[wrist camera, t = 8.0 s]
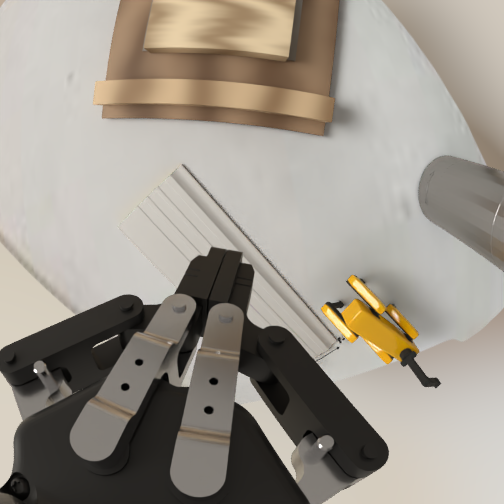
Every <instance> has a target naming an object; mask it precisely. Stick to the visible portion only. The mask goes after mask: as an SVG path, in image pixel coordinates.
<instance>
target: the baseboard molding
mask: <svg viewBox="0 0 504 504" xmlns="http://www.w3.org/2000/svg"><path fill="white" fill-rule="evenodd" d="M118 228H119V229H120V230H121V232H122V233H123V234H124V235H125V236H126V237H127V238H128V239H129V240H130V241H131V242H132V243H133V244H134V245H135V246H136V248H137V249H138V250H139V251H140V252H141V253H142V254H143V255H144V256H145V257H146V258H147V259H148V260H149V261H150V262H151V263H152V264H153V265H154V266H155V267H156V268H157V269H158V270H159V271H160V272H161V273H162V274H163V275H164V276H165V277H166V278H167V279H168V280H169V281H170V282H171V283H172V284H173V285H174V286H175V287H176V288H178V286H179V284H180V282H181V280H182V278H183V276H184V275H185V272H186V270H187V269H188V266H189V264H190V262H191V260H193V259H194V258H195V257H197V256H198V255H202V256H207V255H208V253H209V250H210V248H211V247H217V248H222V249H227V250H234V251H239V252H243V258H242V263H246V264H251V265H252V266H253V269H254V271H255V274H254V280H253V286H252V293H251V298H250V303H249V307H248V312H247V317H248V319H249V320H250V321H251V322H252V323H253V324H255V325H256V326H258V327H260V328H263V329H264V328H265V327H268V326H281V327H284V328H286V329H287V330H289V331H290V332H291V333H292V334H293V335H294V337H295V338H296V339H297V340H298V341H299V343H300V344H301V345H302V346H303V347H304V349H305V350H306V351H307V352H308V353H309V354H310V356H311V357H312V358H316V357H317V356H318V355H320V354H322V353H323V352H326V351H327V350H329V348H330V346H331V345H332V344H333V343H335V342H336V341H337V340H336V339H335V337H334V336H333V335H332V334H331V333H330V332H329V331H328V329H327V328H326V327H325V326H324V325H323V324H322V323H321V321H320V320H319V319H318V318H317V317H316V316H315V315H314V313H313V312H312V311H311V310H310V309H309V308H308V307H307V305H306V304H305V303H304V302H303V301H302V300H301V299H300V297H299V296H298V295H297V294H296V293H295V292H294V291H293V289H292V288H291V287H290V286H289V285H288V284H287V283H286V281H285V280H284V279H283V278H282V277H281V276H280V275H279V273H278V272H277V271H276V270H275V269H274V268H273V267H272V265H271V264H270V263H269V262H268V261H267V260H266V259H265V258H264V256H263V255H262V254H261V253H260V252H259V251H258V250H257V248H256V247H255V246H254V245H253V244H252V243H251V242H250V241H249V239H248V238H247V237H246V236H245V235H244V234H243V233H242V231H241V230H240V229H239V228H238V227H237V226H236V225H235V224H234V222H233V221H232V220H231V219H230V218H229V217H228V216H227V214H226V213H225V212H224V211H223V210H222V209H221V208H220V207H219V205H218V204H217V203H216V202H215V201H214V200H213V199H212V198H211V196H210V195H209V194H208V193H207V192H206V191H205V190H204V189H203V187H202V186H201V185H200V184H199V183H198V182H197V181H196V179H195V178H194V177H193V176H192V175H191V174H190V173H189V172H188V170H187V169H186V168H185V167H184V166H183V165H181V166H180V167H178V168H177V169H176V170H175V171H174V172H173V173H172V174H171V175H169V176H168V177H167V178H166V179H165V180H164V181H163V182H162V183H161V184H160V185H159V186H158V187H157V188H156V189H155V190H154V191H153V192H151V193H150V194H149V195H148V196H147V197H146V198H145V199H144V200H143V201H142V202H141V203H140V204H139V205H138V206H137V207H136V208H135V209H134V210H133V211H132V212H131V213H130V214H129V215H128V216H127V217H126V218H125V219H124V220H123V221H122V222H121V223H120V225H119V226H118ZM342 337H343V336H342ZM344 339H345V338H343V339H342V340H344ZM338 340H339V343H340V337H339V338H338ZM341 343H342V342H341ZM336 349H339V347H337V348H336ZM336 349H335V350H336ZM333 351H334V350H333ZM333 351H332V352H333ZM330 353H331V352H330ZM327 355H328V354H327ZM325 356H326V355H325ZM322 358H323V357H322ZM320 359H321V358H320ZM320 359H319V360H320ZM317 361H318V360H317ZM315 362H316V361H315Z"/></svg>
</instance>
